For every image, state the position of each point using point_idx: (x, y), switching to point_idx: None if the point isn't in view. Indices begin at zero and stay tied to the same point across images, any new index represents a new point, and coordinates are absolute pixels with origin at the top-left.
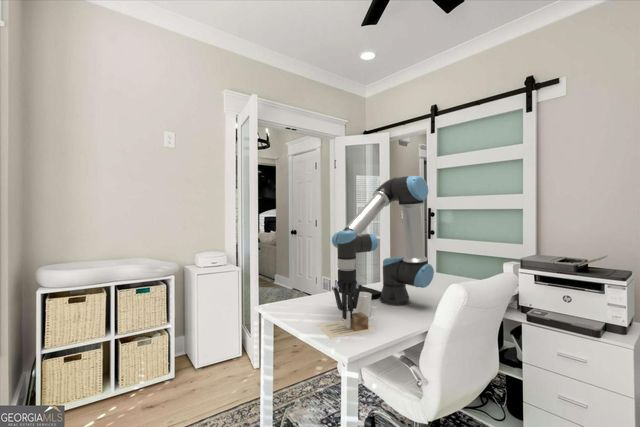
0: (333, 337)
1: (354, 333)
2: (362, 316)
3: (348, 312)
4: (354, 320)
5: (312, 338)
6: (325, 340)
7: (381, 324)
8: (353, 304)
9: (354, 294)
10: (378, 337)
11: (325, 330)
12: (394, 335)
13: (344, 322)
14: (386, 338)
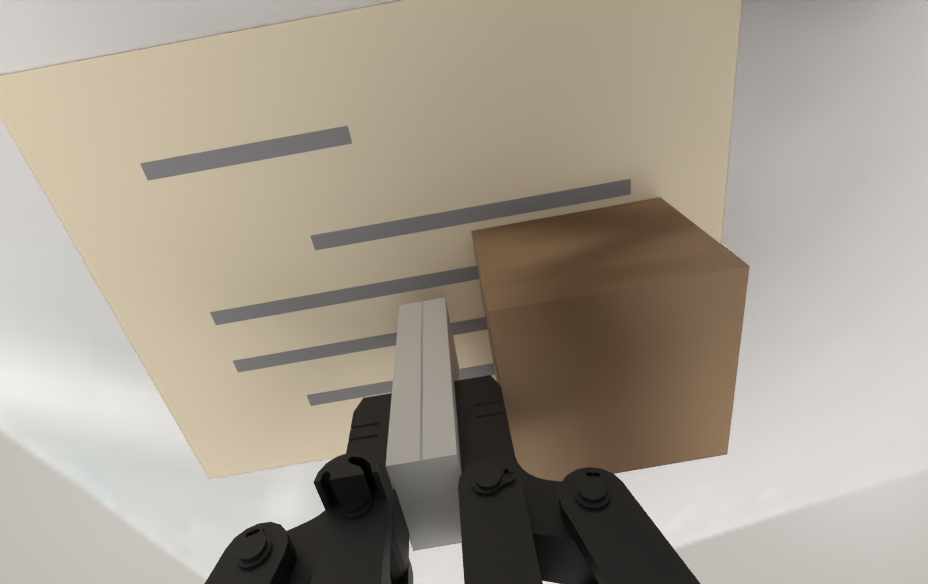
0: (243, 465)
1: None
2: (660, 434)
3: (440, 531)
4: None
5: (22, 439)
6: (165, 488)
7: (884, 248)
8: (613, 536)
9: None
10: (644, 499)
11: (152, 304)
12: (790, 487)
13: (398, 332)
14: (692, 519)
